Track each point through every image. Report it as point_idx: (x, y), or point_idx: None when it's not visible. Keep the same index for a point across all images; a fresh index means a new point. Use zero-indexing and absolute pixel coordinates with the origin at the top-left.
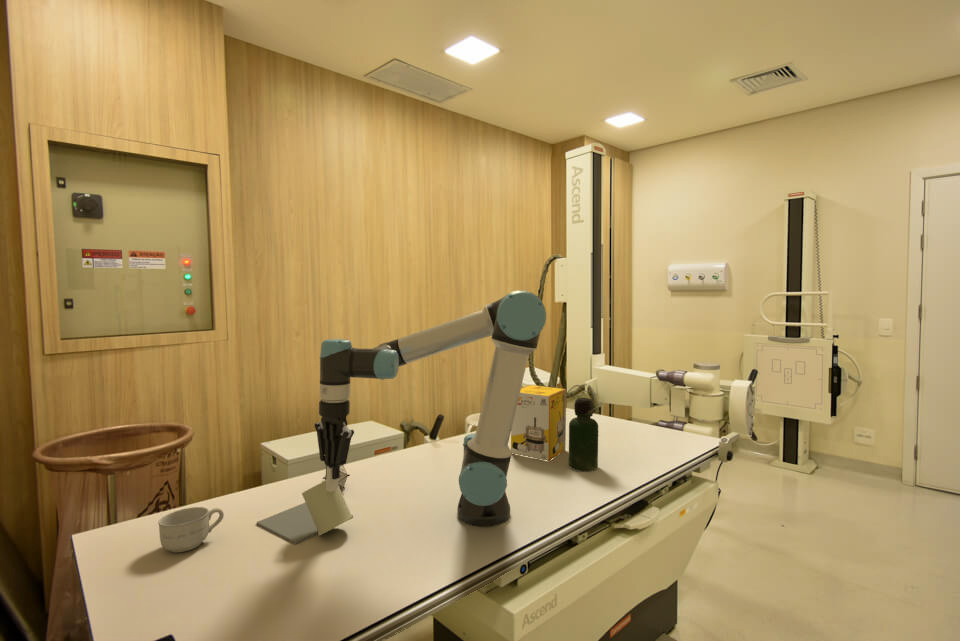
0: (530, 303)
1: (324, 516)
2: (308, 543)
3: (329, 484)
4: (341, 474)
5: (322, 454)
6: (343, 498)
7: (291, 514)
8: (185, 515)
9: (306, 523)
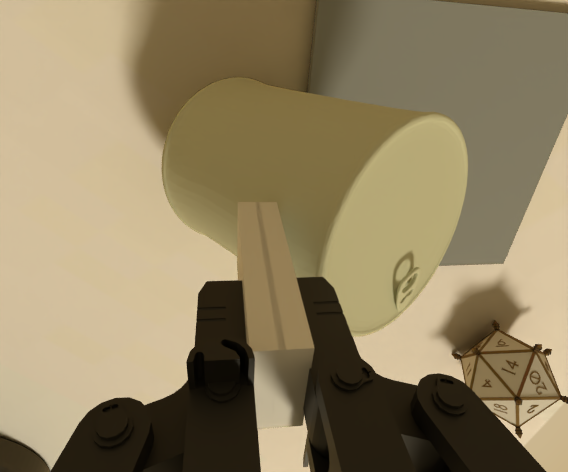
0: None
1: (232, 113)
2: (275, 31)
3: (244, 233)
4: (487, 391)
5: (467, 467)
6: None
7: (506, 148)
8: None
9: None
